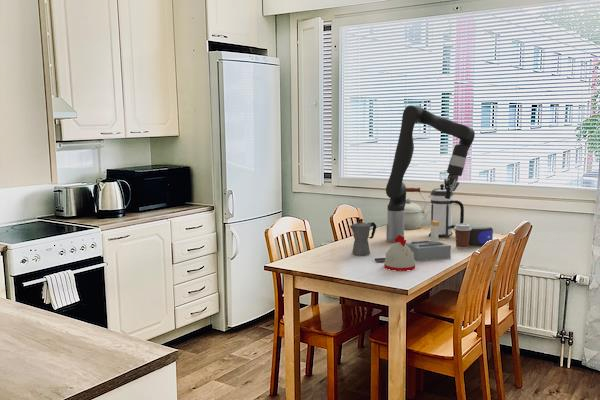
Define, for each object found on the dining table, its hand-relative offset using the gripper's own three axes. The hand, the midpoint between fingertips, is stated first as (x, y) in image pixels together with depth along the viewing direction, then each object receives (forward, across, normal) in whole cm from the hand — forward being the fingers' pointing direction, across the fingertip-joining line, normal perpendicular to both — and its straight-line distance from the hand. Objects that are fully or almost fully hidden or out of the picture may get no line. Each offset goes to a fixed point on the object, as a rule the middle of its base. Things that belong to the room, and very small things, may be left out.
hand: (447, 198), depth 288 cm
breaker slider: (+23, +6, +3) cm, 24 cm away
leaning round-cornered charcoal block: (+20, -30, +10) cm, 38 cm away
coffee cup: (+23, -20, +6) cm, 31 cm away
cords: (+35, +27, -6) cm, 44 cm away
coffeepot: (+38, +23, -25) cm, 51 cm away
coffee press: (+22, -41, -15) cm, 49 cm away
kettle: (+25, -52, -43) cm, 72 cm away
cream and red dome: (+35, +35, +3) cm, 50 cm away
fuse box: (+30, +8, +2) cm, 31 cm away
